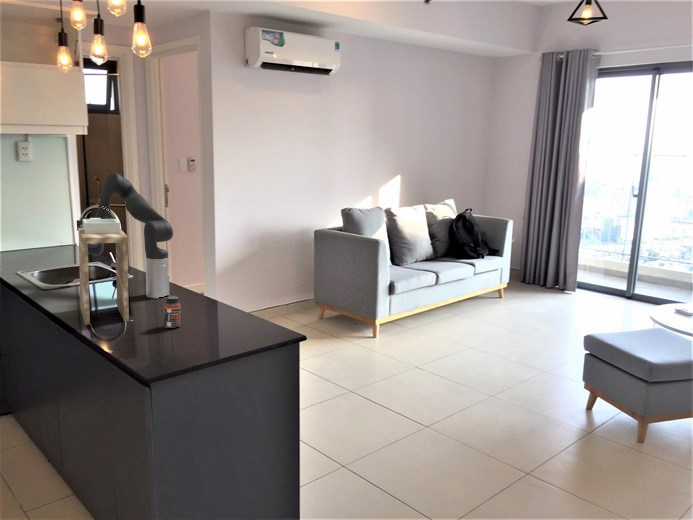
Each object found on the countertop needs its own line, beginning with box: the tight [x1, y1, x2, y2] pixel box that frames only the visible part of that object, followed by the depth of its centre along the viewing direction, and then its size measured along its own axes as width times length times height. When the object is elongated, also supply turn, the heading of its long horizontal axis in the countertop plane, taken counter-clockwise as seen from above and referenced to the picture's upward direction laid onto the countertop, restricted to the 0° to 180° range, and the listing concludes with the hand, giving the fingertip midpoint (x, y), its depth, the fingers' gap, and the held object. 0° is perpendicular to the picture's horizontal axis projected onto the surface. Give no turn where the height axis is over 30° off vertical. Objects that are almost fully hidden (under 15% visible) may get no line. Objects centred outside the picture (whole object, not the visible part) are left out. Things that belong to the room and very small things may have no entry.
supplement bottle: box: [163, 295, 182, 329], centre depth 212 cm, size 6×6×11 cm
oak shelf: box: [77, 228, 130, 325], centre depth 220 cm, size 15×24×32 cm, turn 28°
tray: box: [83, 217, 121, 234], centre depth 228 cm, size 12×32×4 cm, turn 28°
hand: (96, 218), depth 238 cm, fingers open, 8 cm apart
